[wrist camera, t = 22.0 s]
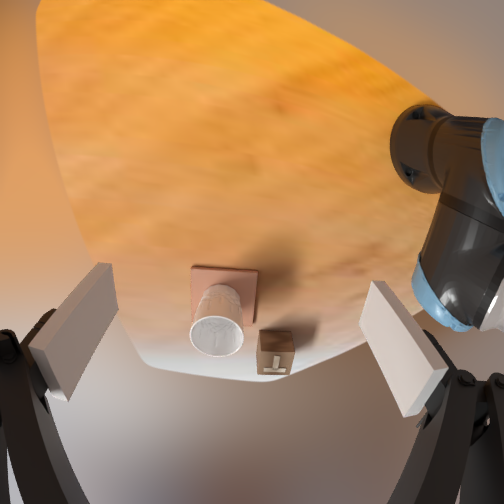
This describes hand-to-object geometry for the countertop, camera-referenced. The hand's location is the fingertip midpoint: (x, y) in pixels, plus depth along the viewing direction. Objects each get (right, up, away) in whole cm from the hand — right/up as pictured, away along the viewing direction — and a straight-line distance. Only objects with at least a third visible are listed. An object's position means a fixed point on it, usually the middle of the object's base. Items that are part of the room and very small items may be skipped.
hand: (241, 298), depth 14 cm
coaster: (-5, -6, +37) cm, 38 cm away
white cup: (-5, -6, +36) cm, 37 cm away
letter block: (+5, -15, +41) cm, 44 cm away
